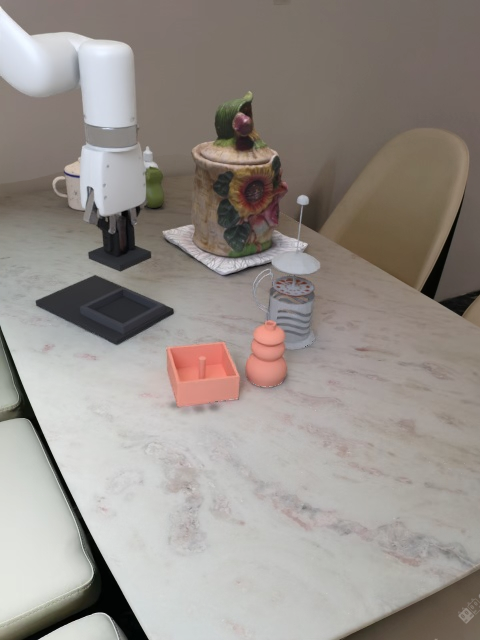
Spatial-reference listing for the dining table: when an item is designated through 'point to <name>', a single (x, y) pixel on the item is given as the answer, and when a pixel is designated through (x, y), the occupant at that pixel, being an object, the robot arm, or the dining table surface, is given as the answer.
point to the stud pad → (121, 258)
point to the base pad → (105, 308)
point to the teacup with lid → (71, 185)
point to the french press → (292, 294)
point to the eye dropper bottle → (148, 159)
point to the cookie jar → (235, 197)
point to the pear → (154, 187)
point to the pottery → (225, 367)
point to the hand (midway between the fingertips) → (119, 249)
